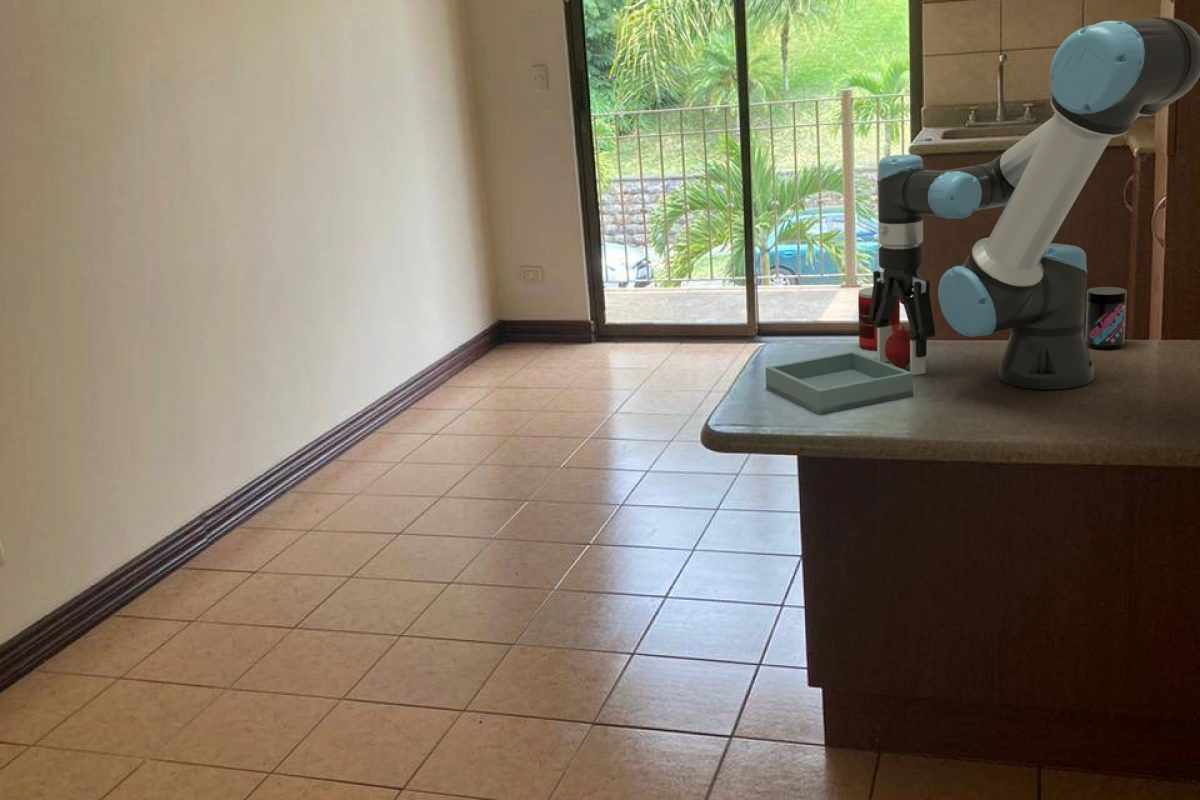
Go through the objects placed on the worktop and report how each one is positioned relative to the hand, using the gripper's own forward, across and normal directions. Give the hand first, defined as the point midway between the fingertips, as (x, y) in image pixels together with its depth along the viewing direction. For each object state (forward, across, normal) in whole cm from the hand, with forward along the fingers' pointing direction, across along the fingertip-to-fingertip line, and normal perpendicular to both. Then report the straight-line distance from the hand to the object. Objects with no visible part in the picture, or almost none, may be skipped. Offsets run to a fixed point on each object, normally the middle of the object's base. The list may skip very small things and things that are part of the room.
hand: (901, 367), depth 219 cm
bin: (0, +6, -17) cm, 18 cm away
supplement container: (0, +9, +38) cm, 39 cm away
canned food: (0, -16, +6) cm, 17 cm away
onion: (0, 0, 0) cm, 0 cm away
